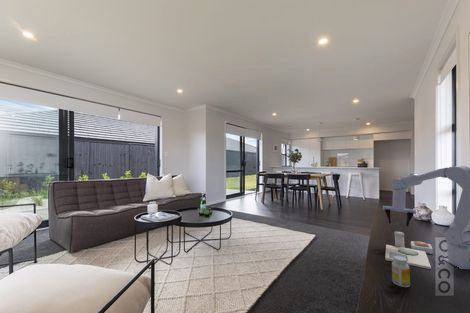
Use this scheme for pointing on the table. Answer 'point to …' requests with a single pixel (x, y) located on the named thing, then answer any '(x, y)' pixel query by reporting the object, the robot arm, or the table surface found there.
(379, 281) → the table surface
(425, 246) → the button
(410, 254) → the picture board
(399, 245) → the marker
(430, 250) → the button box
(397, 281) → the supplement bottle
